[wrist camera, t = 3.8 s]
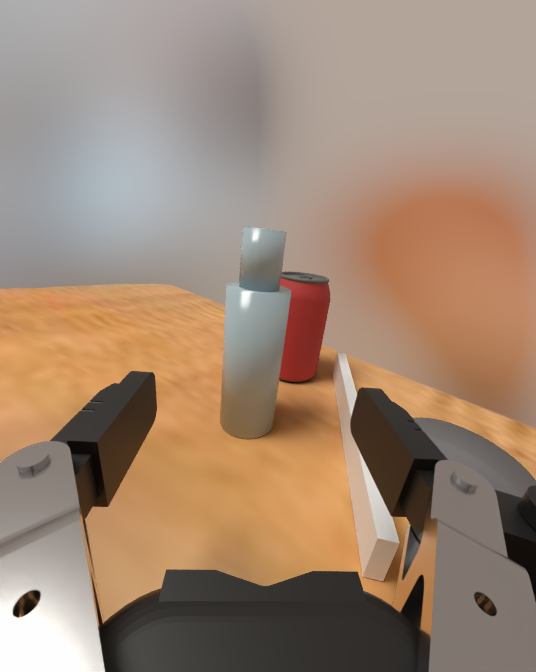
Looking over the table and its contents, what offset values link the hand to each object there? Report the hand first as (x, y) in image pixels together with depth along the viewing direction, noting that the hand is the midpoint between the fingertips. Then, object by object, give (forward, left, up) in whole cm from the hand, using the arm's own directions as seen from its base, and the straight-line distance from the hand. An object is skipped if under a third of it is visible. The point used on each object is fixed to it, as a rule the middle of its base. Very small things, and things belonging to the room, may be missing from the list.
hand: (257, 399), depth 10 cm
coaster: (+10, -16, -10) cm, 21 cm away
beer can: (+21, -1, -10) cm, 23 cm away
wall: (+11, -7, -10) cm, 16 cm away
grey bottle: (+10, +2, -10) cm, 14 cm away
